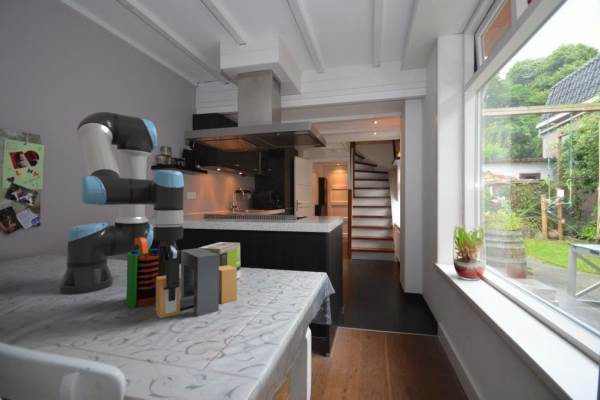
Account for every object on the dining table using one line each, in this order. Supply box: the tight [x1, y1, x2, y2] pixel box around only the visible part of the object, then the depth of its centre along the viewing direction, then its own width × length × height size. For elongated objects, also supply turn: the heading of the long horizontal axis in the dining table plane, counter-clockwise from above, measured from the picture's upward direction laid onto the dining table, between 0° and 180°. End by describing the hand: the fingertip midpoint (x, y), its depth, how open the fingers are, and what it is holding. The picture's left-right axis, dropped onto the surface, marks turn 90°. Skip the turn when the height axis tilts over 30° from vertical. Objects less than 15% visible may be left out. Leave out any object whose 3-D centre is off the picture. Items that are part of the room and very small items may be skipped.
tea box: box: [199, 241, 242, 280], centre depth 104 cm, size 15×10×15 cm, turn 163°
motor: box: [125, 237, 158, 309], centre depth 83 cm, size 10×9×20 cm
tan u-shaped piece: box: [155, 265, 238, 319], centre depth 80 cm, size 6×22×10 cm, turn 130°
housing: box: [180, 247, 220, 317], centre depth 80 cm, size 15×6×16 cm, turn 40°
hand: (167, 308), depth 74 cm, fingers closed on tan u-shaped piece, 5 cm apart
